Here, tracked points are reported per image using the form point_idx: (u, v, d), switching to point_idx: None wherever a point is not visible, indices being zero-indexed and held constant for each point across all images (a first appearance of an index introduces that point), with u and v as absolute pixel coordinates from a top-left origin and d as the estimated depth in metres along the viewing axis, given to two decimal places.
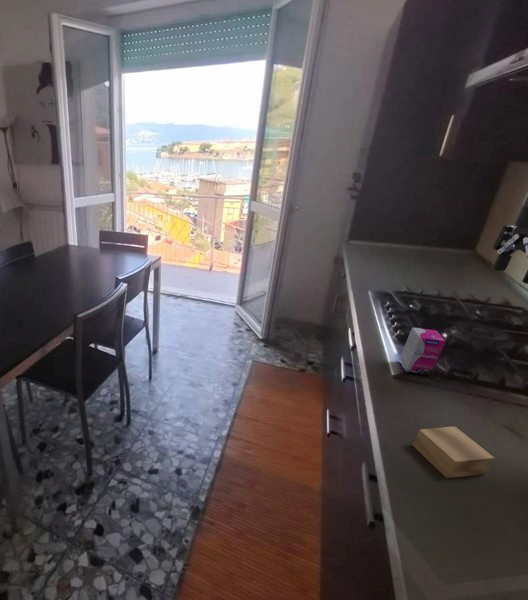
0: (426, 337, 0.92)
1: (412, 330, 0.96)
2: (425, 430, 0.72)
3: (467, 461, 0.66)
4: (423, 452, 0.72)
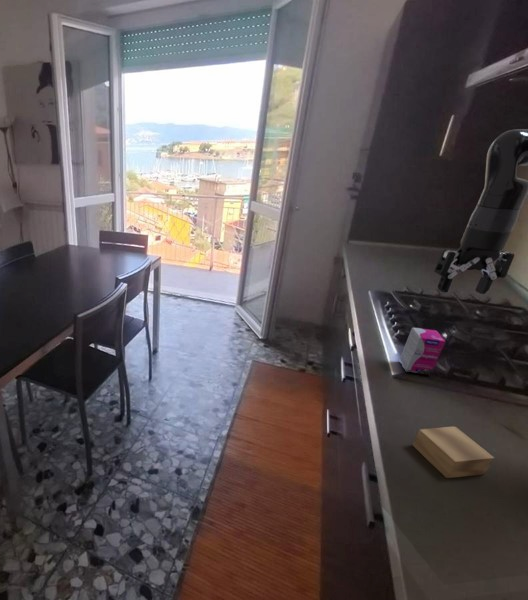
0: (426, 337, 0.92)
1: (412, 330, 0.96)
2: (425, 430, 0.72)
3: (467, 461, 0.66)
4: (423, 452, 0.72)
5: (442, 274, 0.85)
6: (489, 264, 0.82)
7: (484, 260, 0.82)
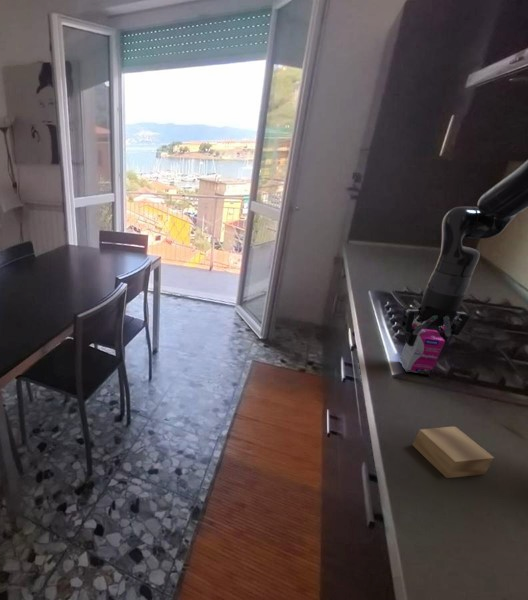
0: (426, 337, 0.92)
1: None
2: (425, 430, 0.72)
3: (467, 461, 0.66)
4: (423, 452, 0.72)
5: (407, 330, 0.93)
6: (445, 322, 0.90)
7: (442, 317, 0.90)
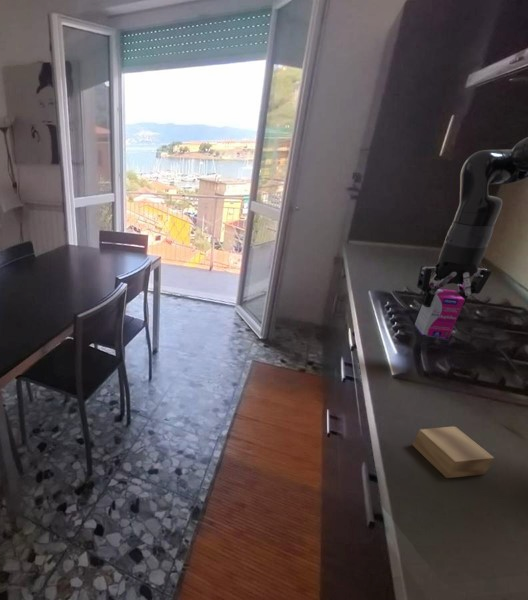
0: (444, 296, 0.87)
1: None
2: (425, 430, 0.72)
3: (467, 461, 0.66)
4: (423, 452, 0.72)
5: (424, 289, 0.88)
6: (465, 279, 0.84)
7: (461, 274, 0.84)
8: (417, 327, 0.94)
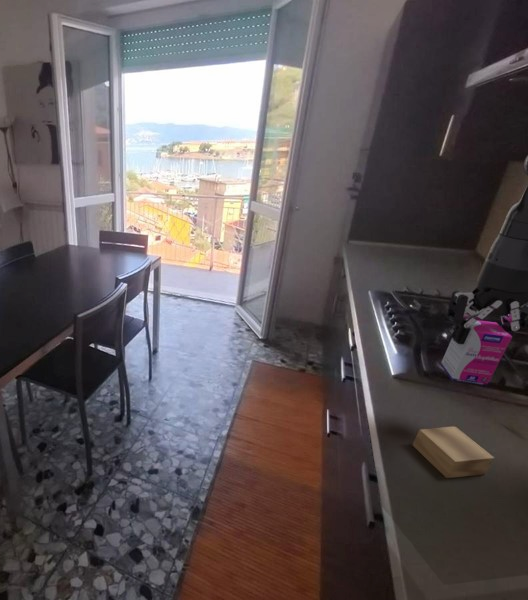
0: (483, 331, 0.66)
1: None
2: (425, 430, 0.72)
3: (467, 461, 0.66)
4: (423, 452, 0.72)
5: (456, 322, 0.67)
6: (513, 310, 0.64)
7: (508, 303, 0.64)
8: (445, 367, 0.73)
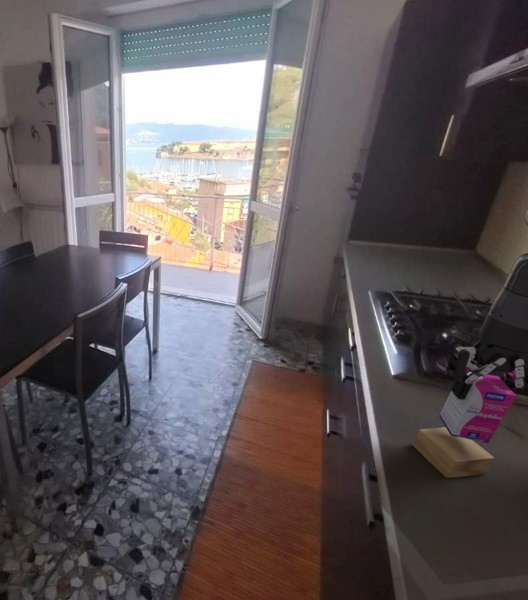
0: (486, 388, 0.61)
1: None
2: (425, 430, 0.72)
3: (467, 461, 0.66)
4: (423, 452, 0.72)
5: (457, 378, 0.62)
6: (517, 368, 0.59)
7: (513, 361, 0.59)
8: (444, 420, 0.69)
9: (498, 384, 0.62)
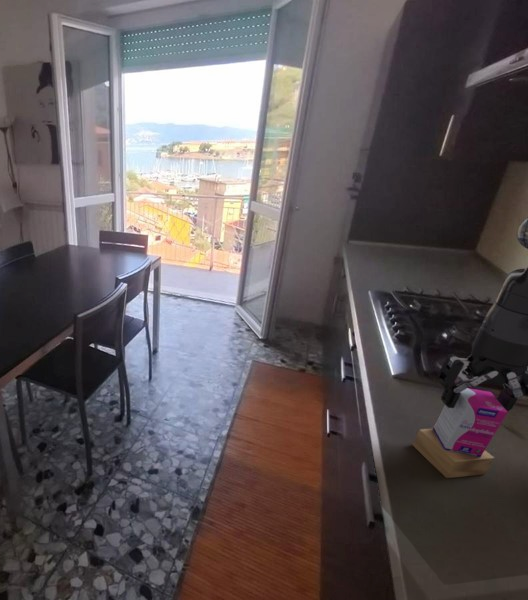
0: (478, 404, 0.63)
1: None
2: (425, 430, 0.72)
3: (467, 461, 0.66)
4: (423, 452, 0.72)
5: (446, 387, 0.64)
6: (511, 380, 0.61)
7: (505, 374, 0.61)
8: (437, 434, 0.71)
9: (490, 400, 0.64)
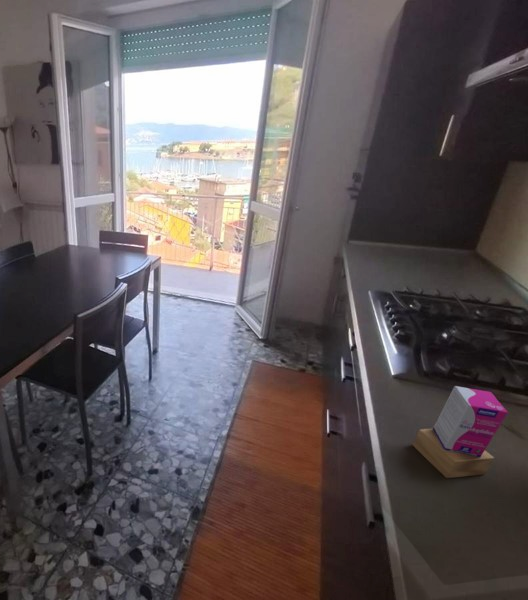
0: (478, 405, 0.63)
1: (455, 390, 0.67)
2: (425, 430, 0.72)
3: (467, 461, 0.66)
4: (423, 452, 0.72)
5: None
6: None
7: None
8: (437, 434, 0.71)
9: (490, 400, 0.64)
